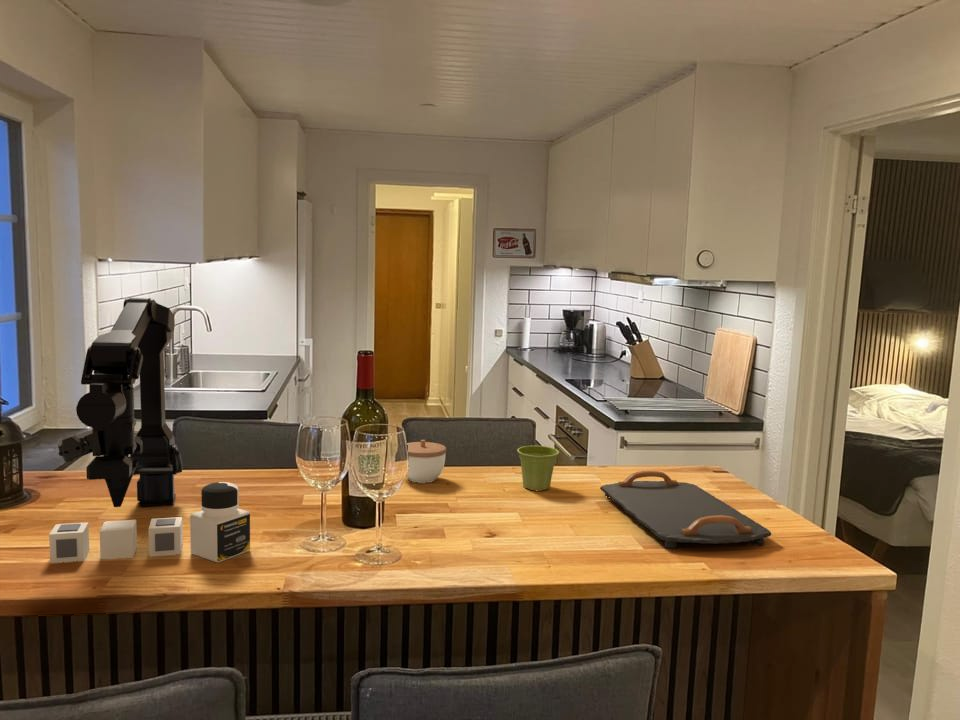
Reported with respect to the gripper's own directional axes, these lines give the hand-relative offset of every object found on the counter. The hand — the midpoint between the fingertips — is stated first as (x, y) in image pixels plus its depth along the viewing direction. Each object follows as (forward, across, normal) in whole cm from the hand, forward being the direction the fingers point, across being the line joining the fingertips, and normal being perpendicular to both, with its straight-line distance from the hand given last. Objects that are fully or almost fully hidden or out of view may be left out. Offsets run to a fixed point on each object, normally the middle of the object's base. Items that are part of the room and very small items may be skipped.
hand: (117, 506), depth 135 cm
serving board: (+9, +2, +106) cm, 106 cm away
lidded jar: (+8, -35, +60) cm, 70 cm away
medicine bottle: (+8, +3, +17) cm, 19 cm away
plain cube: (+8, 0, 0) cm, 8 cm away
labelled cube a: (+8, 0, +8) cm, 11 cm away
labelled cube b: (+8, 0, -7) cm, 11 cm away
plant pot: (+8, -24, +84) cm, 88 cm away
